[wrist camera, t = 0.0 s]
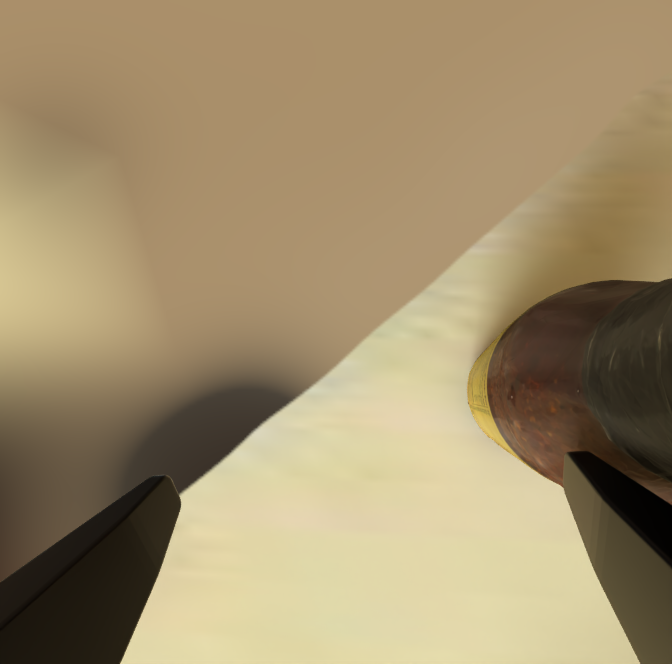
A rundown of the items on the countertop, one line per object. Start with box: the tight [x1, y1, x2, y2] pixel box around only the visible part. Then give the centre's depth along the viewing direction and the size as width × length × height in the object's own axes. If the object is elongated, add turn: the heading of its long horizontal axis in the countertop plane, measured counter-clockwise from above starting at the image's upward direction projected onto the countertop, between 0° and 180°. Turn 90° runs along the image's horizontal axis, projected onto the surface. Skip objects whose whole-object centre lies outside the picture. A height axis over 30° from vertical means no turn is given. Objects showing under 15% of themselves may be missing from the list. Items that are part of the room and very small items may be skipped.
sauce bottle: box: [467, 279, 672, 505], centre depth 13 cm, size 6×6×20 cm
